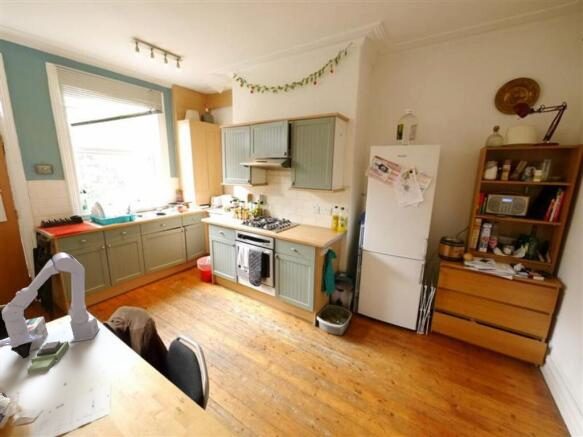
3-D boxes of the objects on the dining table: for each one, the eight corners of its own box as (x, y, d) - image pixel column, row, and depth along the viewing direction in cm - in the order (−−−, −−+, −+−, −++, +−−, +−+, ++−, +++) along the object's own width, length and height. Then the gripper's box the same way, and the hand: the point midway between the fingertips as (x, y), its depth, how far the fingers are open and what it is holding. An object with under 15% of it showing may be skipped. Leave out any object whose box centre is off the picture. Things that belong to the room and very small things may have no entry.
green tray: (69, 346, 118) (68, 341, 117) (51, 369, 105) (49, 363, 104) (44, 350, 115) (43, 345, 114) (23, 374, 102) (21, 368, 102)
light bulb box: (31, 338, 122) (25, 319, 120) (49, 334, 125) (44, 315, 123) (20, 353, 113) (13, 333, 110) (39, 348, 116) (34, 329, 113)
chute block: (64, 350, 116) (61, 340, 114) (57, 358, 111) (55, 347, 110) (45, 352, 114) (43, 342, 112) (38, 361, 109) (35, 351, 108)
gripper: (-12, 340, 100) (-3, 367, 104) (32, 333, 104) (40, 360, 108) (2, 328, 107) (10, 354, 110) (43, 323, 111) (50, 348, 114)
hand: (26, 356), depth 109 cm, fingers closed
